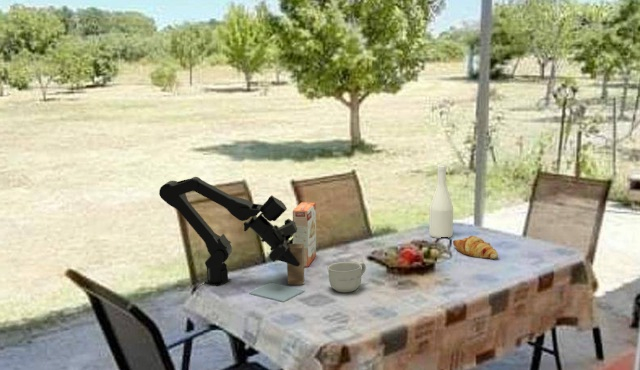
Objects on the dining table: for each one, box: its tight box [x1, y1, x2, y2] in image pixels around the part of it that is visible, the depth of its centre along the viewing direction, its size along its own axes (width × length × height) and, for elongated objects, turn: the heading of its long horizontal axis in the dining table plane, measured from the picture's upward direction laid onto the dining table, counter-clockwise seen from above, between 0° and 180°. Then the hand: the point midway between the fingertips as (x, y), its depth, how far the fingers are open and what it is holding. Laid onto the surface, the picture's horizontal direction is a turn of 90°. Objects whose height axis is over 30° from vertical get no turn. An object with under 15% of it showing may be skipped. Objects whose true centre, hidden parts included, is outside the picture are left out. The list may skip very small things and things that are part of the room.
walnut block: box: [286, 244, 305, 285], centre depth 217 cm, size 5×5×12 cm
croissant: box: [452, 235, 499, 260], centre depth 245 cm, size 21×10×8 cm, turn 38°
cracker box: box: [292, 201, 317, 268], centre depth 239 cm, size 14×6×21 cm, turn 168°
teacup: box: [327, 261, 367, 293], centre depth 211 cm, size 14×11×8 cm
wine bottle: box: [428, 163, 454, 239], centre depth 268 cm, size 10×10×30 cm
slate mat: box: [248, 282, 306, 303], centre depth 209 cm, size 14×11×1 cm
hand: (299, 262), depth 217 cm, fingers closed on walnut block, 5 cm apart
